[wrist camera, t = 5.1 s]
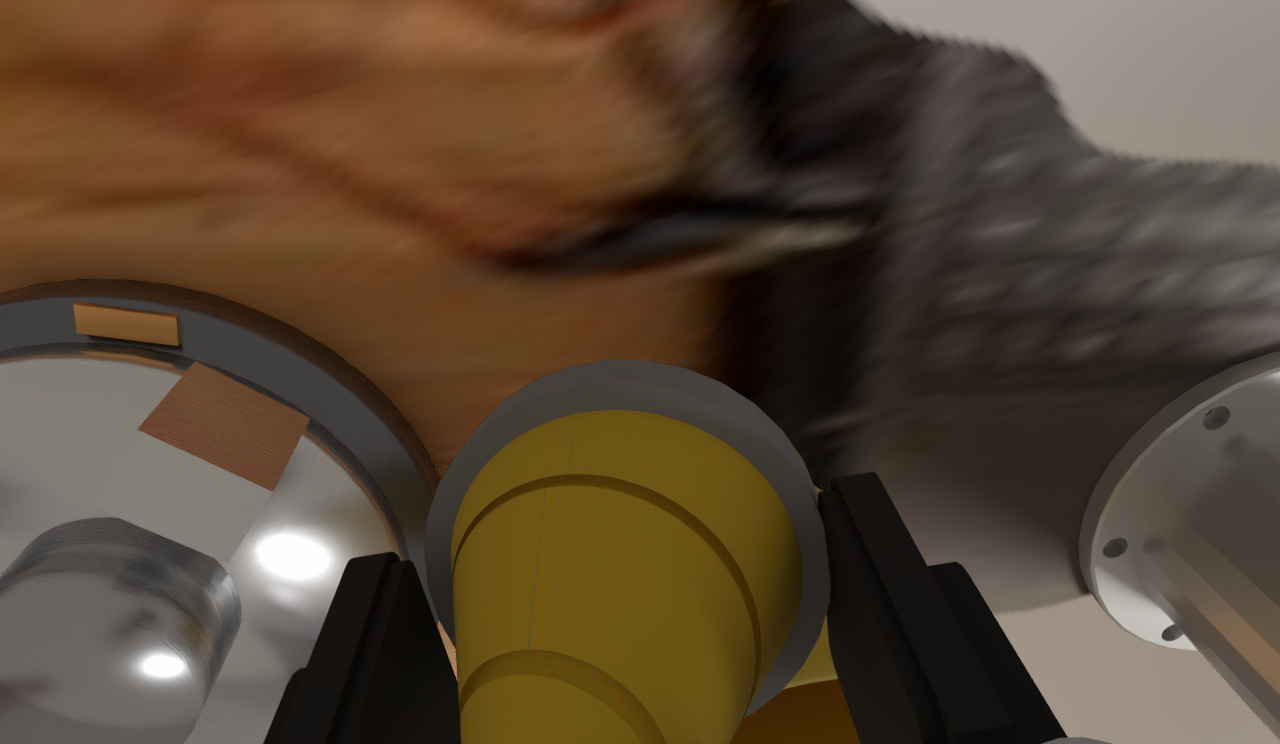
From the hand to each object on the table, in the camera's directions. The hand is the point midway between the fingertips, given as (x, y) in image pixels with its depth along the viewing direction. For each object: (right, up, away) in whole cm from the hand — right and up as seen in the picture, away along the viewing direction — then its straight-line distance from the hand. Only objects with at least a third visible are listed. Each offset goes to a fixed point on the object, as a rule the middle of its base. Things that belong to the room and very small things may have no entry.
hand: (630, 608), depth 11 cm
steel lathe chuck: (-14, -3, +14) cm, 20 cm away
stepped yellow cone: (0, +2, +4) cm, 4 cm away
